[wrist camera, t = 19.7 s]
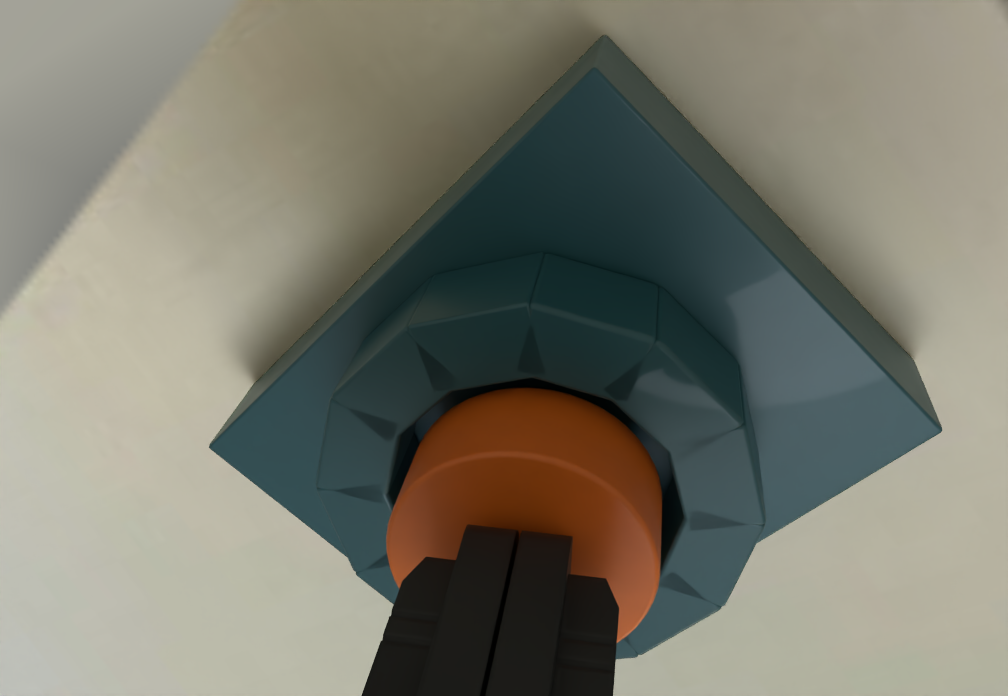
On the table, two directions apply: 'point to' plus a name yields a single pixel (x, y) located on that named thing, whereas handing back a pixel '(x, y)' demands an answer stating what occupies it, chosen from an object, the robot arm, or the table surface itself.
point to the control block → (595, 343)
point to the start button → (536, 489)
